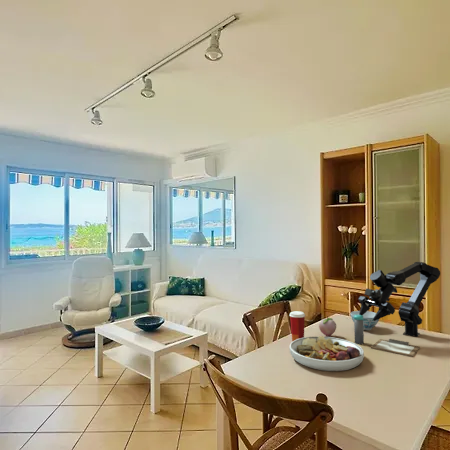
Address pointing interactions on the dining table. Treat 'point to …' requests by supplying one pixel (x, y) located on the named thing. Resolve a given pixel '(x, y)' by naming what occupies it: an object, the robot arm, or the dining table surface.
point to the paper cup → (297, 324)
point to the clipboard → (396, 347)
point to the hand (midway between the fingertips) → (366, 318)
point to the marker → (358, 329)
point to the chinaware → (366, 319)
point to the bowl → (326, 353)
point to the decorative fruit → (327, 326)
